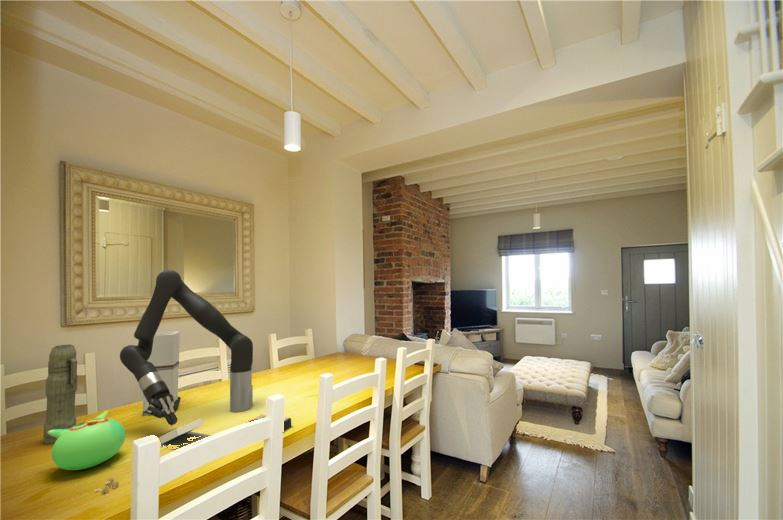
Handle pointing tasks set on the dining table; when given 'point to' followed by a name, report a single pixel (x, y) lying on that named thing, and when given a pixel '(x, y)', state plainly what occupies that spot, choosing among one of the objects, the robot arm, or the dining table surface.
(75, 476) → the dining table surface
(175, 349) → the grooved grey pillar
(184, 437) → the tile mat
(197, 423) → the tile
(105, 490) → the dice set
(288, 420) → the calculator
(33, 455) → the dining table surface
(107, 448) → the green eared figurine
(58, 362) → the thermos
